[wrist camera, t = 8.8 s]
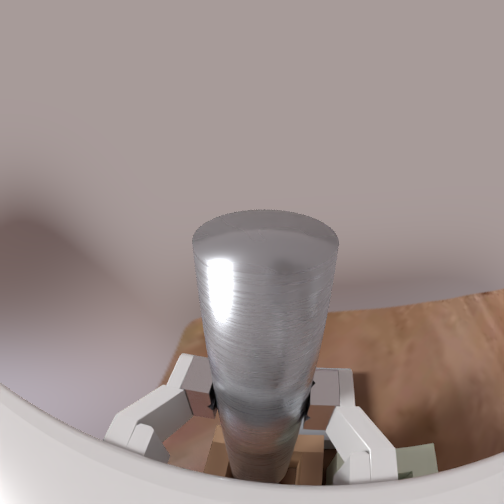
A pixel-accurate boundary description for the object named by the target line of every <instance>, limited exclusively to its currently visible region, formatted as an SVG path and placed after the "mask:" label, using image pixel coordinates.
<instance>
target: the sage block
mask: <svg viewBox="0 0 504 504" xmlns="http://www.w3.org/2000/svg"><path fill="white" fill-rule="evenodd" d="M395 450H396V460H397V471H398V480H401V479H407V478H413V477H418V476H423V475H428V474H433V473H437V472H438V468H437V461H436V455H435V449H434V443H431V444H425V445H419V446H412V447H405V448H397V449H395ZM344 463H345V462H344V461H343V459H342V458H341V456H340V454H339V453H338V452H337V453H336V455H335V457H334V458H333V460H332V461H331V463H330V464H329V466H328V467H327V471H326V486H329V485H333V476H334V475H335V474H336V473H337V471H338V470H339V469H340V468H341V466H342V465H343V464H344Z"/></svg>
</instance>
